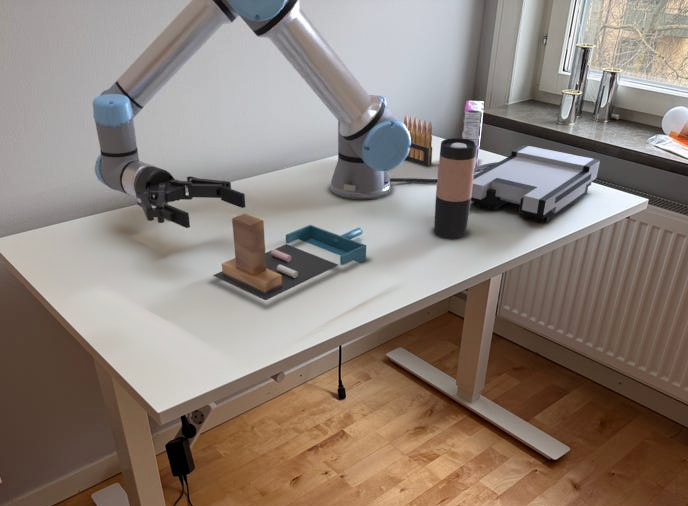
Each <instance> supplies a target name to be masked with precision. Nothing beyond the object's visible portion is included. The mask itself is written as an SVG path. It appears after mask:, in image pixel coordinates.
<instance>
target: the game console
mask: <svg viewBox="0 0 688 506" xmlns="http://www.w3.org/2000/svg"><path fill="white" fill-rule="evenodd" d="M510 153H511V154H510V155H509V156H508V157H506V158H503V159H502V160H500V161H497V162H498V163H496V164H494V165H492V166H490V167H487V168H484V169H482V170H481V171H478V172H476V173H475V174H474V177H473V186H472V196H471V202H472V205H475V206H477V207H482V208H486V209H489V210H493V211H494V210H497V209H499V208H500V207H502V206H504V205H505V204H507V203H513V204H517V205H519V208H518V214H521V217H522V218H526V219H529V220H533V221H537V222H540V223H543V224H547V223H549V222H550V221H551V220H552V219H554V218H555V217H556V216H558V215H559V214H561V213H562V212H564V211H565V210H566V209H568V208H570V206H571V205H573V204H575V203H576V202H577V201H579V200H580V199H582V198H583V197H584V196H585V195H587V194H588V189H589V187H590V186H592V182H593V181H594V180H596V179H597V177H598V173H599V167H600V164H601V160H600V159H596V158H592V157H586V156H582V155H577V154H571V153H566V152H562V151H556V150H551V149H546V148H543V147H542V148H541V147H536V146H531V145H526V144H522V145H520V146H518V147H516V148H515V149H513V150H511V152H510Z"/></svg>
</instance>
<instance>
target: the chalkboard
mask: <svg viewBox="0 0 688 506" xmlns="http://www.w3.org/2000/svg"><path fill="white" fill-rule="evenodd" d="M274 249H275V250H278V251H280V252H282V253H285V254H287V255H290V256H291V261H290V262H286V261H284V260H281V259H279V258H276V257H274V256H272V255H271V251H272V250H273V249H271V250H269V251H265V257H266V268H267V269H269V270H271V271H274V272H276V273H278V274H281V275H282V287H280V288H278V289H276V290H274V291H272V292H270V293H268V294H266V295H264V294H262V293H260V292H258V291H256V290H254V289H252V288H249V287H247V286H245V285H243V284H241V283H239V282H236V281H234V280H232V279H230V278H228V277H226V276H224V275H223V272H222V271H219V272H217V273H214V274H213V275H212V277H215V278H217V279H218V280H221V281H224V282H225V283H227V284H230V285H232V286H234V287H236V288H239V289H240V290H243V291H245V292H247V293H249V294H251V295H253V296H255V297H258V298H260V299H261V300H264V301H267V300H269V299H271V298H273V297H276V296H278V295H280V294H283V293H284V292H286V291H288V290H291V289H292V288H294V287H296V286H299V285H301V284H303V283H304V282H307V281H309V280H310V279H313V278H315V277H317V276H319V275H321V274H324V273H326V272H328V271H330V270H332V269H334V268H336V267H338V266H339V264H338V263H335V262H333V261H330V260H327V259H325V258H322V257H320V256H317V255H315V254H313V253H310V252H307V251H305V250H303V249H299V248H298V247H295V246H292V245H290V244H288V243H285V244H283V245H281V246H278V247H276V248H274ZM280 264H281V265H283V266H285V267H288V268H290V269H292V270H295V271H297V272H298V276H297V277H296V278H293V277H290V276H288V275H286V274H283V273H281V272H279V271H277V266H278V265H280Z"/></svg>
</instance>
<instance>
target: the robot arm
mask: <svg viewBox="0 0 688 506" xmlns="http://www.w3.org/2000/svg"><path fill="white" fill-rule="evenodd" d="M300 4H301V0H190V1H189V3H187V5H186V6H185V7H184V8H183V9H182V10H181V11H180V12H179V14H177V15H176V16H175V17H174V19H173V20H172V21H171V22H170V23H169V24H168V25H167V26H166V27H165V28H164V29H163V31H162V32H161V33H160V34H159V35H158V36H157V37H156V38H155V39H154V40H153V41H152V42H151V43H150V44H149V45H148V46H147V48H146V49H145V50H144V51H143V52H142V53H141V54H140V55H139V56H138V57H137V58H136V59H135V60H134V61H133V63H132V64H131V65H129V67H128V68H127V69H126V70H125V71H124V72H123V73H122V74H121V75H120V76H119V77H118V78H117V79H116V81H115V82H114V83H113V84H112V85H111V86H110V87H109V88H107V89H105V90H103V91H102V92H101V93H100V94H99V95H98V96H96V97H94V98H93V100H92V109H93V111H92V114H93V119H94V123H95V128H96V129H95V130H96V132H97V138H98V144H99V148H100V154H99V155H98V156H97V158H96V160H95V165H94V174H95V176H96V178H97V180H98V181H99V182H100V183H102V184H103V185H105V186H106V187H108V188H109V189H111V190H114V191H118V192H120V193H123V194H126V195H128V196H130V197H132V198H135V199H136V204H137V206H139V207H141V208H142V212H143V214H144V215H145V218H146V220H147V221H149V222H152V221H154V220H155V218H157V223H158V224H163V223H165V220H166V221H168V222H172V223H174V224H176V225H179V226H181V227H183V228H185V229H189V228H191V224H190V215H189V212H187V211H185V210H182V209H180V208H177V207H175V206H172V205H170V204H169V203H173V202H178V201H180V200H182V201H183V200H186V201H188V200H189V201H190V200H192V199H193V198H202V199H203V198H206V199H208V198H210V199H220V200H221V201H223V202H224V203H228V204H230V205H233V206H235V207H238V208H241V209H246V195H245V193H244V192H240V191H238V190H235V189H232V183H231V181H227V180H218V179H209V178H200V177H199V178H198V177H194V176H191V175H189V176H187V177H186V180H179V179H175V177H174V176H173V175H172V173H170V172H169V171H168V170H166V169H163V168H160V167H157V166H155V165H153V164H149V163H147V162H143V161H141V160H140V157H139V151H138V145H137V137H136V130H135V129H136V128H135V122H134V118H135V117H136V116H137V115H138V114H139V113H140V112H141V111H142V110H143V109H144V107H145V106H146V105H147V104H148V103H149V102H150V101H151V100H152V99H153V98H154V97H155V96H156V95H157V94H158V92H160V90H162V88H163V87H164V86H165V85H166V84H167V83H168V82H169V81H170V80H171V79H173V77H174V76H175V75H176V74H177V73H178V72H179V71H180V70H181V69H182V68H183V67H184V66H185V65H186V64H187V62H188V61H190V59H192V58H193V56H194V55H195V54H196V53H197V52H198V51H199V50H200V49H201V48H202V47H203V46H204V45H205V44H206V43H207V42H208V41H209V40H210V38H212V36H213V35H214V34H216V32H217V31H218V30H219V29H220V28H221V27H222V26H223V25H224V24H225V25H229V24H230V25H232V24H233V22H234V21H235V20H236V19H237V18H238V17H240V18H241V19H242V20H243V21H244V23H245V24H246V25H247V26H248V28H249V29H250V30H251V31H252V32H253V33H254V35H255V36H256V37H257V38H264V39H265V38H266V39H269V41H270V42H271V43H272V44H273V45H274V46H275V47H276V49H277V50H278V51H279V52H280V54H282V56H283V57H284V58H285V60H286V61H287V62H288V63H289V64H290V66H291V67H292V68H293V69H294V70H295V71H296V72H297V74H298V76H300V77H301V78H302V80H303V81H304V82H305V83H306V84H307V86H308V87H309V89H311V90H312V91H313V93H314V94H315V95H316V96H317V97H318V98H319V99H320V101H321V102H322V103H323V105H324V106H325V107H326V108H327V109H328V110H329V112H330V113H331V114H332V115H333V116H334V117H335V119H336V120H337V122H338V123H337V161H336V165H335V167H334V171H333V174H332V177H331V180H330V191H331V192H332V193H333V194H334V195H336V196H338V197H342V198H345V199H350V200H373V199H378V198H381V197H385V196H387V195H388V194H389V193H390V191H391V183H429V184H430V183H432V184H433V183H436V184H437V179H438V178H418V177H417V178H415V177H414V178H412V177H409V178H408V177H394V178H393V177H390V176H389V171H391V170H394V169H395V168H397V167H399V166H400V165H401V164H403V162H404V161H406V160H405V158H406V157H407V155H408V153H409V150H410V145H411V138H410V134H409V131H408V130H407V128H406V126H405V125H404V122H402V121H401V120H398V118H397V117H396V116H395V115H394V114H393V112H392V111H391V110H390V109H389V107H388V104H387V102H388V101H387V98H386V97H385V96H383V95H376V94H369V93H368V92H367V91H366V89H365V88H364V87H363V86H362V84H361V83H360V82H359V80H358V79H357V78H356V77H355V76H354V74H353V72H351V70H350V69H349V68H348V67H347V65H346V64H345V63H344V61H343V60H342V59H341V57H340V56H339V55H338V54H337V53H336V51H335V50H334V49H333V48H332V46H331V45H330V44H329V42H328V41H327V40H326V39H325V37H324V36H323V35H322V33H321V32H320V31H319V30H318V28H317V27H316V26H315V24H314V23H313V22H312V21H311V19H310V18H309V17H308V16H307V15H306V13H305V12H304V10H303V9H302V8H301V5H300ZM498 162H499V161H495V162H489V163H483V164H481V165H477V169H475V168H474V173H477V171H478V172H479V171H480V170H484V169H487V168H489V167H490V166H492V165H494V164H496V163H498ZM186 189H187V190H186Z"/></svg>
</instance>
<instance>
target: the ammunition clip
mask: <svg viewBox="0 0 688 506" xmlns="http://www.w3.org/2000/svg"><path fill="white" fill-rule="evenodd" d="M403 124H404V125H405V126H406V128H407V130H408V131H409V134H410V138H411V145H410V150H409V153H408V155H407V157H406V158H405V160H404V161H408V162H411V163H413V164H417V165H421V166H423V167H430V166H432V165H433V164H432V163H433V162H432V161H433V146H432V142H433V136H432V135H433V132H432V131H433V127H432V126H433V125H432V122H431V121H429V123H428V124H427V120H424V121H423V123H422V118H420V119H419V120H418V119H417V117H414V120H413V117H412V116H409V119H408V116H407V115H405V116H404V119H403Z"/></svg>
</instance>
